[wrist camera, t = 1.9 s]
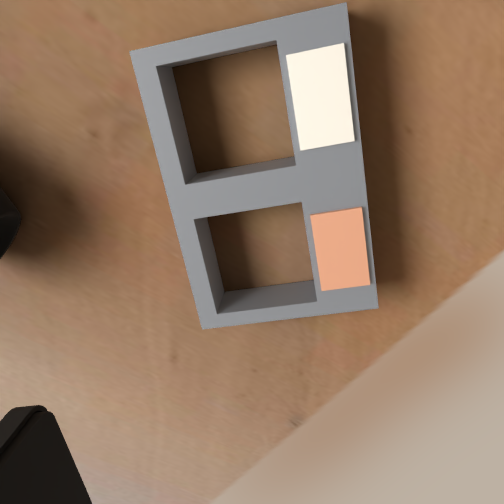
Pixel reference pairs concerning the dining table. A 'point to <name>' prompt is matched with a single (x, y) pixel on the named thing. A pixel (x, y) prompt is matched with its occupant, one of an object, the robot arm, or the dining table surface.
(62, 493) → the robot arm
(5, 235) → the portable speaker
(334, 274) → the socket board
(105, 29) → the dining table surface
